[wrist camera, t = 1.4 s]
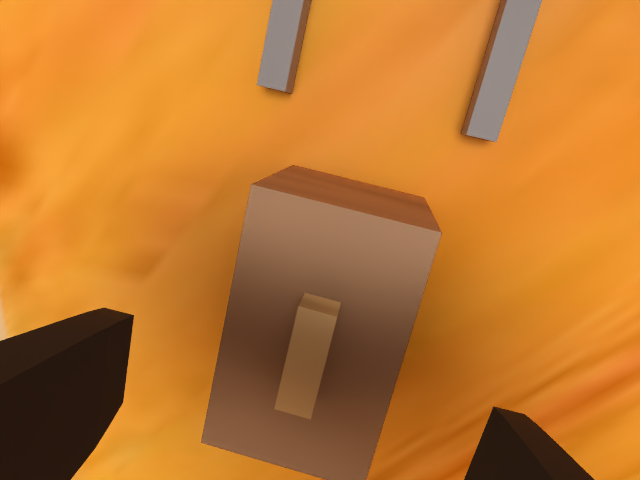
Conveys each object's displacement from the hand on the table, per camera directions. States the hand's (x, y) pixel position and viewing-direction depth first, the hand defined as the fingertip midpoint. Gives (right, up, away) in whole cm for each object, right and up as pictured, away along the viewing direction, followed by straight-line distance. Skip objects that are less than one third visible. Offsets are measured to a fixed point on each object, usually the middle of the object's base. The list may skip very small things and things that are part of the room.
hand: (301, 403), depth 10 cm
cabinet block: (+1, +2, +10) cm, 10 cm away
